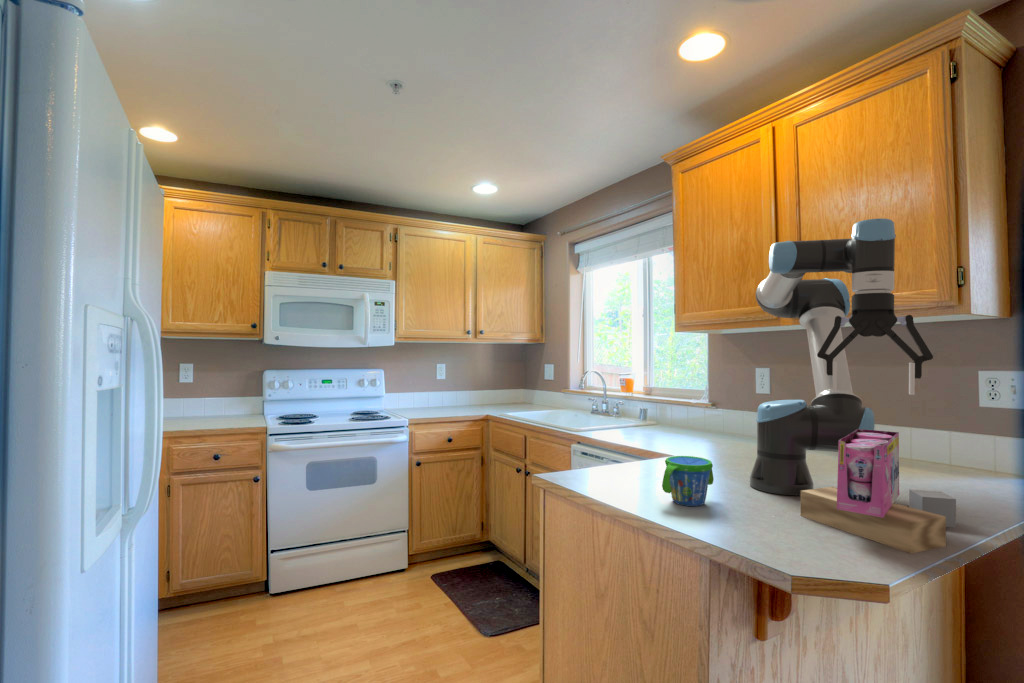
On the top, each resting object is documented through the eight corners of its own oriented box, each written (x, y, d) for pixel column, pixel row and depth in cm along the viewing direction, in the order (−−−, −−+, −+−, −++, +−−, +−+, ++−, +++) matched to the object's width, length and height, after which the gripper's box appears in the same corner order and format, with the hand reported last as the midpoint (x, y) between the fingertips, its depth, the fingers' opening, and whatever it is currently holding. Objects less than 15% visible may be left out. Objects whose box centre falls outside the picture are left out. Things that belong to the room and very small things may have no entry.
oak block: (911, 555, 96) (911, 522, 96) (800, 517, 118) (800, 490, 118) (945, 548, 100) (945, 516, 100) (832, 513, 121) (832, 486, 121)
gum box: (883, 520, 97) (883, 446, 97) (834, 511, 103) (834, 441, 103) (900, 494, 115) (900, 431, 115) (857, 488, 120) (857, 428, 121)
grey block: (922, 525, 112) (922, 496, 112) (909, 516, 118) (909, 489, 118) (955, 527, 111) (955, 499, 111) (941, 519, 116) (941, 491, 116)
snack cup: (679, 513, 119) (679, 467, 119) (647, 500, 128) (648, 458, 128) (729, 504, 125) (729, 461, 126) (696, 493, 135) (696, 453, 135)
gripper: (804, 294, 116) (804, 390, 117) (950, 288, 103) (949, 397, 103) (806, 296, 123) (806, 388, 123) (944, 291, 109) (944, 394, 110)
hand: (871, 392), depth 113 cm, fingers open, 13 cm apart
